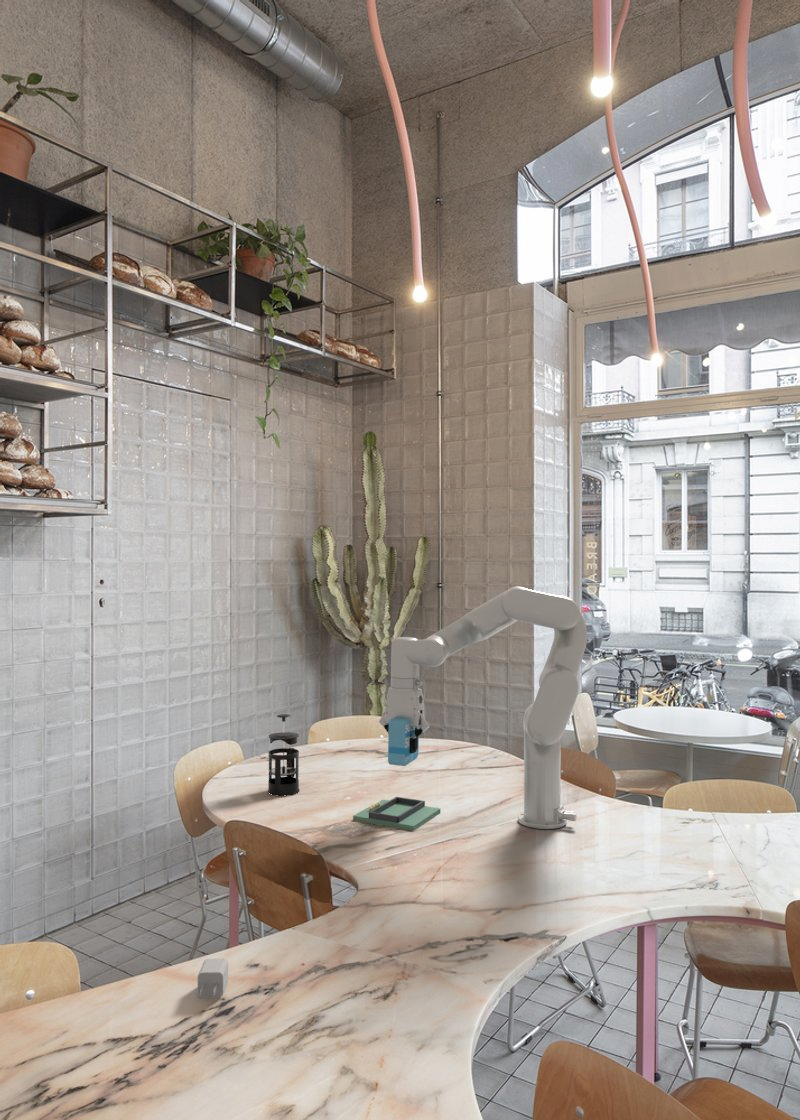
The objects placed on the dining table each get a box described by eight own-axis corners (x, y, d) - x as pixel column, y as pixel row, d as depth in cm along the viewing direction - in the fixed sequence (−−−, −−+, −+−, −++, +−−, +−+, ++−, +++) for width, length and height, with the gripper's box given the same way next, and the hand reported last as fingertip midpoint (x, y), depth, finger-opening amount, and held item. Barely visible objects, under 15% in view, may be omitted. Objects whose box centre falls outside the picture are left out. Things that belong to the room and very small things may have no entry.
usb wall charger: (228, 983, 129) (228, 958, 129) (220, 1007, 122) (220, 980, 122) (203, 983, 129) (203, 958, 129) (193, 1007, 122) (193, 981, 122)
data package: (403, 767, 207) (404, 721, 207) (387, 765, 209) (388, 719, 209) (418, 757, 218) (419, 713, 218) (403, 755, 220) (404, 712, 220)
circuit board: (440, 812, 217) (440, 803, 217) (413, 830, 203) (413, 820, 203) (382, 803, 226) (382, 794, 226) (353, 820, 211) (353, 810, 211)
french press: (291, 798, 231) (291, 718, 231) (261, 795, 233) (261, 717, 233) (306, 787, 242) (306, 711, 242) (277, 785, 245) (277, 710, 245)
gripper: (439, 684, 213) (438, 752, 213) (383, 679, 221) (382, 744, 221) (427, 688, 206) (426, 758, 206) (370, 682, 214) (369, 750, 214)
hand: (403, 750), depth 213 cm, fingers closed on data package, 4 cm apart
